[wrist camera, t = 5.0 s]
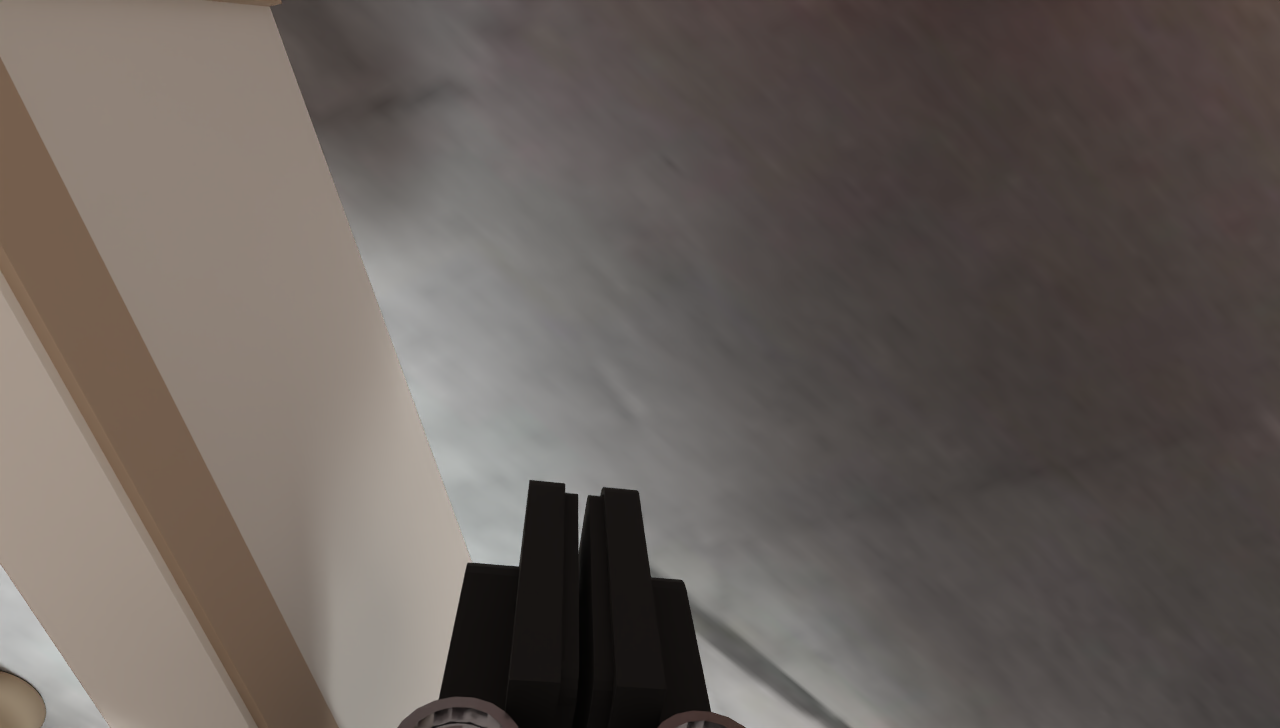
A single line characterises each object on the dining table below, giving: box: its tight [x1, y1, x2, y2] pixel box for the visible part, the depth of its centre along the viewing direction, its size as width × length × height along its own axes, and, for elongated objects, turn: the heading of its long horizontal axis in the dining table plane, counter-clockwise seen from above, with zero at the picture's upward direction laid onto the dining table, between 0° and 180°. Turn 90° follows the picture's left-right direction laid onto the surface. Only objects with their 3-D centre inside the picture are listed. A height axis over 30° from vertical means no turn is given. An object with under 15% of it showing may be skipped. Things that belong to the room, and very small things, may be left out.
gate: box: [0, 0, 472, 728], centre depth 12 cm, size 23×3×11 cm, turn 12°
